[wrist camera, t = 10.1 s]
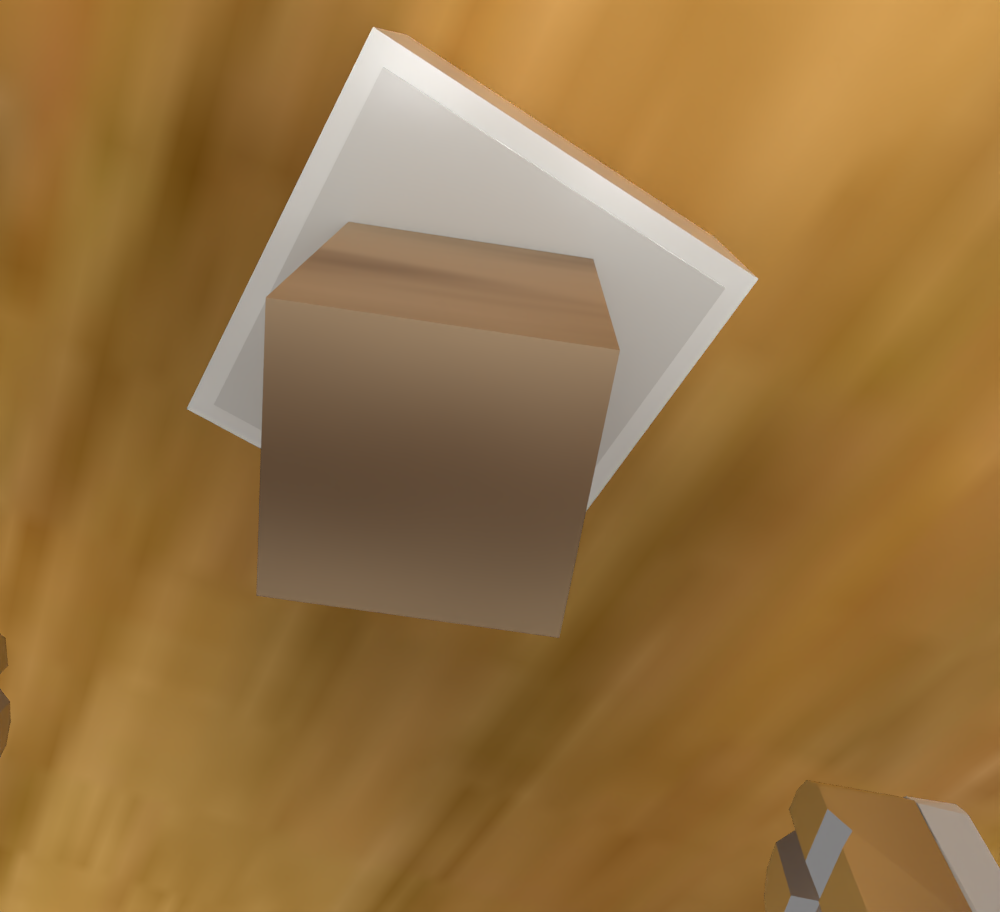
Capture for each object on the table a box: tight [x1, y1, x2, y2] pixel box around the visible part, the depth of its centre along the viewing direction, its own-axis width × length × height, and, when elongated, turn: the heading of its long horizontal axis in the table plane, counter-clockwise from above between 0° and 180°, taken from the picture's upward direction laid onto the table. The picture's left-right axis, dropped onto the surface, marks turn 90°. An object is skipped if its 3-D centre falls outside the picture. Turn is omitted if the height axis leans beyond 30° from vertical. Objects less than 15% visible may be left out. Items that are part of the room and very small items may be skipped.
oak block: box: [257, 222, 620, 638], centre depth 16 cm, size 5×5×6 cm
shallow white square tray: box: [187, 27, 758, 511], centre depth 21 cm, size 9×9×5 cm
